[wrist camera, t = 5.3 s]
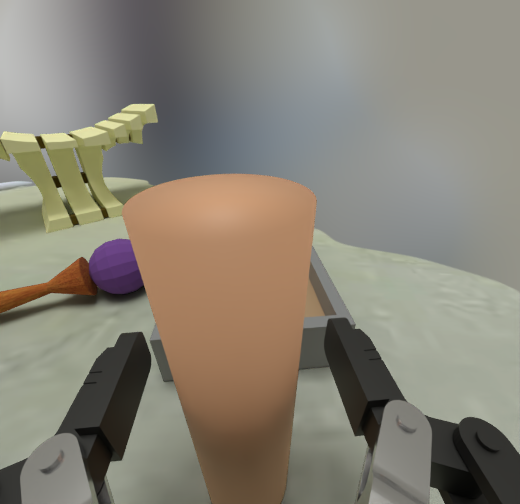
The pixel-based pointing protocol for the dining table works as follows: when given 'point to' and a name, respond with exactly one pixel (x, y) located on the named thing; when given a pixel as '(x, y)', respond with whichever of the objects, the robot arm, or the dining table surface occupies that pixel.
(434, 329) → the dining table surface
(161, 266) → the peg
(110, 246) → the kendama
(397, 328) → the dining table surface
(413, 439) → the robot arm
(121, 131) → the slatted curved stool
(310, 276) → the peg box
